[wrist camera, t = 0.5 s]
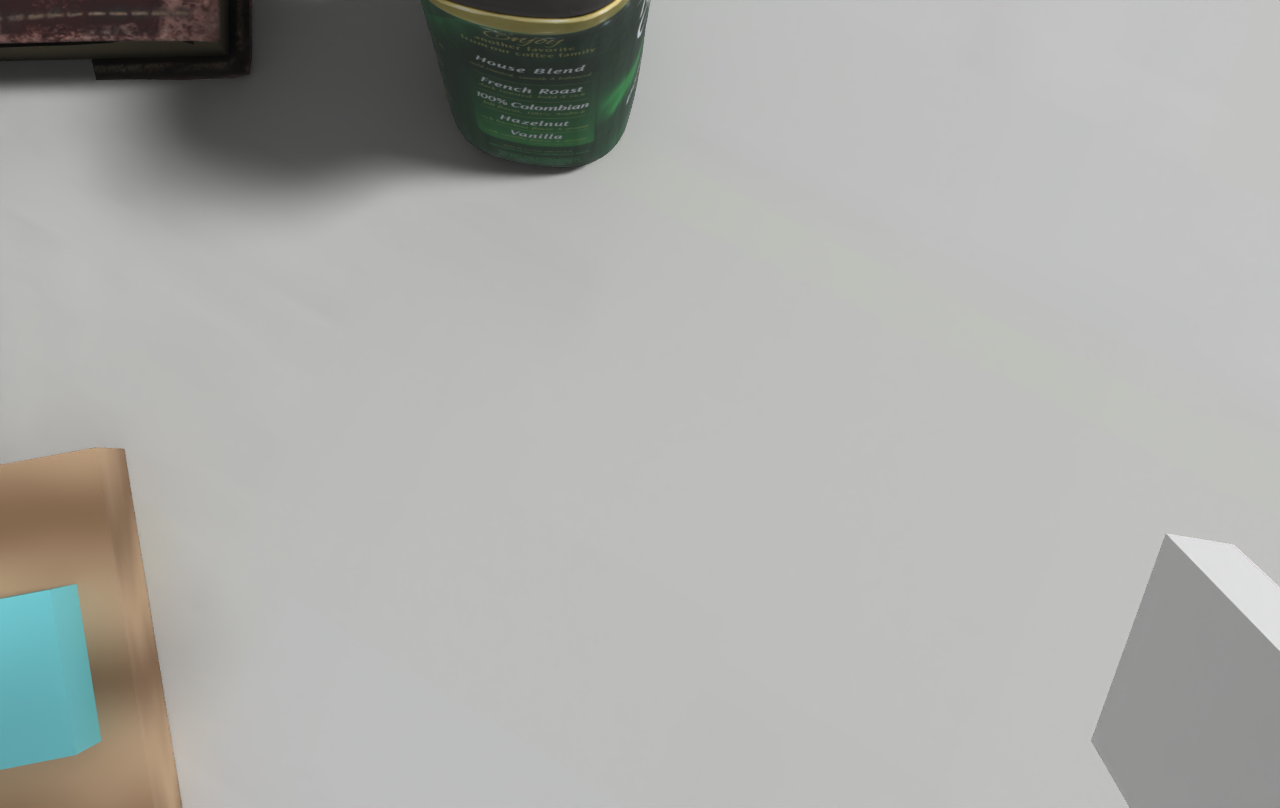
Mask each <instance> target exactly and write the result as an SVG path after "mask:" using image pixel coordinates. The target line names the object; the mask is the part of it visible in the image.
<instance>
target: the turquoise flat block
mask: <svg viewBox="0 0 1280 808" xmlns="http://www.w3.org/2000/svg"><path fill="white" fill-rule="evenodd" d="M99 742H101V735H100V729H99V722H98V716H97V710H96V703H95V697H94V691H93V684H92V678H91V672H90V665H89V659H88V653H87V646H86V640H85V634H84V628H83V621H82V615H81V609H80V602H79V596H78V590H77V584H73V585H68V586H62V587H57V588H52V589H47V590H41V591H36V592H31V593H26V594H20V595H15V596H10V597H4V598H0V770H2V769H7V768H13V767H18V766H23V765H28V764H33V763H38V762H43V761H48V760H53V759H58V758H63V757H68V756H73V755H77V754H79V753H80V752H82V751H84V750H86V749H88V748H90V747H91V746H93V745H95V744H97V743H99Z"/></svg>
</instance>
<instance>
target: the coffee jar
mask: <svg viewBox="0 0 1280 808" xmlns="http://www.w3.org/2000/svg"><path fill="white" fill-rule="evenodd" d="M421 2H422V6H423V9H424V12H425V16H426V19H427V23H428V27H429V30H430V33H431V36H432V40H433V44H434V47H435V50H436V54H437V58H438V62H439V66H440V70H441V74H442V78H443V83H444V87H445V90H446V94H447V97H448V101H449V104H450V108H451V110H452V113H453V116H454V119H455V121H456V124H457V126H458V128H459V129H460V131H461V132H462V134H463V135H464V136H465V138H466V139H467V140H468V141H469V142H470V143H472V144H473V145H474V146H476V147H477V148H478V149H480V150H481V151H483V152H485V153H487V154H490V155H492V156H495V157H498V158H502V159H505V160H509V161H513V162H520V163H525V164H530V165H538V166H546V167H572V166H581V165H585V164H588V163H591V162H594V161H596V160H598V159H599V158H601V157H603V156H604V155H606V154H607V153H608V152H610V151H611V150H612V148H613V147H614V146H615V145H616V144H617V143H618V141H619V140H620V138H621V136H622V134H623V133H624V131H625V128H626V125H627V122H628V119H629V115H630V111H631V108H632V104H633V100H634V96H635V91H636V86H637V81H638V75H639V70H640V64H641V58H642V52H643V43H644V36H645V28H646V22H647V17H648V11H649V5H650V0H421Z"/></svg>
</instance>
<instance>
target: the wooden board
mask: <svg viewBox="0 0 1280 808" xmlns="http://www.w3.org/2000/svg"><path fill="white" fill-rule="evenodd" d="M73 584H77V590H78V596H79V602H80V609H81V615H82V621H83V628H84V634H85V640H86V646H87V653H88V659H89V665H90V672H91V678H92V684H93V691H94V697H95V703H96V710H97V716H98V722H99V729H100V735H101V742H99V743H97V744H95V745H93V746H91V747H90V748H88V749H86V750H84V751H82V752H80V753H79V754H77V755H73V756H68V757H63V758H58V759H53V760H48V761H43V762H38V763H33V764H28V765H23V766H18V767H13V768H7V769H2V770H0V808H182V803H181V797H180V791H179V784H178V778H177V772H176V766H175V760H174V753H173V747H172V741H171V735H170V729H169V723H168V716H167V710H166V704H165V698H164V692H163V686H162V679H161V673H160V667H159V661H158V655H157V648H156V642H155V636H154V630H153V624H152V618H151V611H150V605H149V599H148V593H147V587H146V580H145V574H144V568H143V562H142V556H141V550H140V543H139V537H138V531H137V525H136V519H135V512H134V506H133V500H132V494H131V488H130V482H129V475H128V469H127V463H126V457H125V451H124V449H116V448H90V449H85V450H79V451H74V452H68V453H63V454H58V455H52V456H47V457H41V458H36V459H30V460H25V461H19V462H14V463H8V464H3V465H0V598H4V597H10V596H15V595H20V594H26V593H31V592H36V591H41V590H47V589H52V588H57V587H62V586H68V585H73Z"/></svg>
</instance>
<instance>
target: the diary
mask: <svg viewBox="0 0 1280 808" xmlns="http://www.w3.org/2000/svg"><path fill="white" fill-rule="evenodd" d="M251 58H252V0H0V61H20V60H68V59H92V62H93V67H94V72H95V77H96V80H119V79H155V80H190V79H209V78H229V77H235V76H240V75H245V74H249V72H250V65H251Z"/></svg>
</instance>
